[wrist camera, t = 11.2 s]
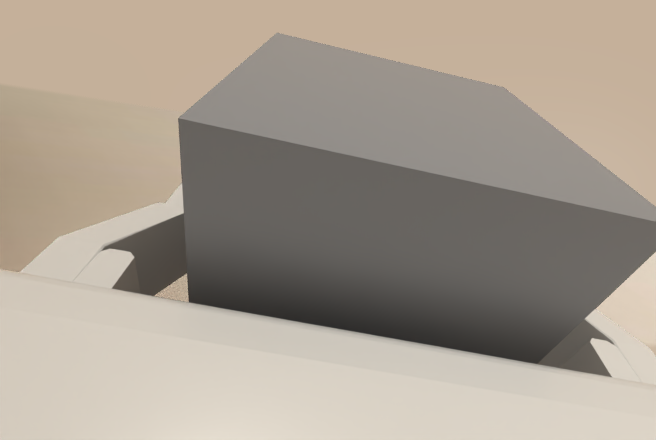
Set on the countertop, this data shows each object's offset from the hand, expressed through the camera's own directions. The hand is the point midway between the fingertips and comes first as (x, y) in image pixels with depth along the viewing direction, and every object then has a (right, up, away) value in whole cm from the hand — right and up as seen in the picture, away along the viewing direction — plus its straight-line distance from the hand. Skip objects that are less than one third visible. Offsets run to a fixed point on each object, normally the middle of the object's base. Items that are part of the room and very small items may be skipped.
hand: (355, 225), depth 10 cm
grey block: (-1, -5, +3) cm, 6 cm away
